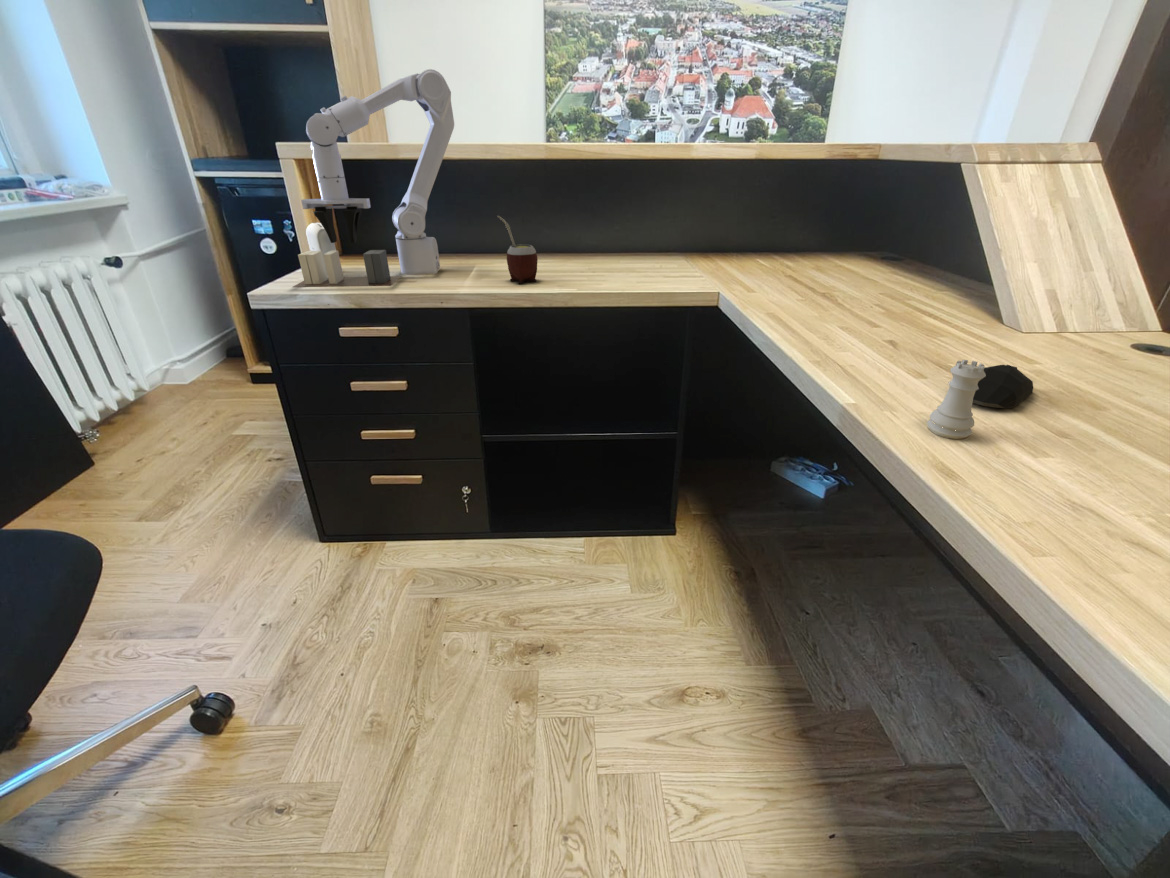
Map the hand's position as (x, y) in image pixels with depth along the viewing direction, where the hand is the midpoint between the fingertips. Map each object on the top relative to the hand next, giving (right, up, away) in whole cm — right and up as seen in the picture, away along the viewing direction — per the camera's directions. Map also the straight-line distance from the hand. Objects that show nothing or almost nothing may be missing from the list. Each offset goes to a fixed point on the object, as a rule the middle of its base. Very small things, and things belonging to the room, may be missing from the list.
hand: (344, 242), depth 129 cm
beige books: (-6, -9, 0) cm, 11 cm away
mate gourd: (+41, -9, +2) cm, 42 cm away
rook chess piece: (+97, -45, -66) cm, 126 cm away
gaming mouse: (+110, -40, -57) cm, 130 cm away
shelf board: (+1, -10, 0) cm, 10 cm away
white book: (-2, -9, 0) cm, 9 cm away
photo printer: (-8, -5, +9) cm, 13 cm away
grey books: (+8, -9, 0) cm, 12 cm away
